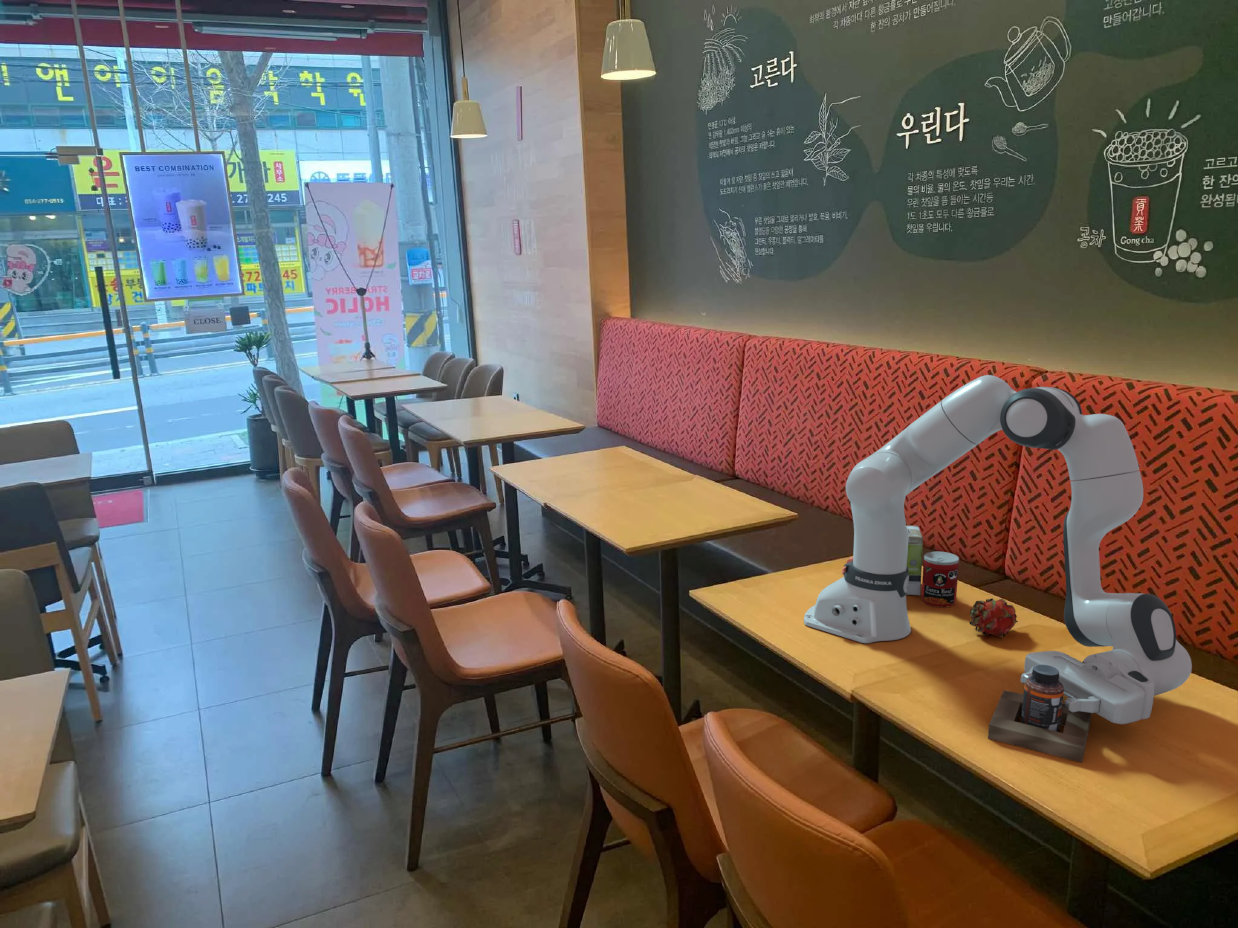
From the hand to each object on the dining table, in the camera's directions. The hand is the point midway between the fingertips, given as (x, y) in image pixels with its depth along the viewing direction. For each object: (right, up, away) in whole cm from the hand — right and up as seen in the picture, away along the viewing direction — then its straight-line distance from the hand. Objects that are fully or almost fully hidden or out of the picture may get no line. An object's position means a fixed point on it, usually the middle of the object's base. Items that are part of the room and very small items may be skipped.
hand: (1045, 692), depth 146 cm
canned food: (+3, +6, +57) cm, 58 cm away
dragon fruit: (+8, +2, +40) cm, 41 cm away
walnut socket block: (0, -7, +1) cm, 7 cm away
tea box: (-6, +8, +66) cm, 67 cm away
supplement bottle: (0, -7, +1) cm, 7 cm away
